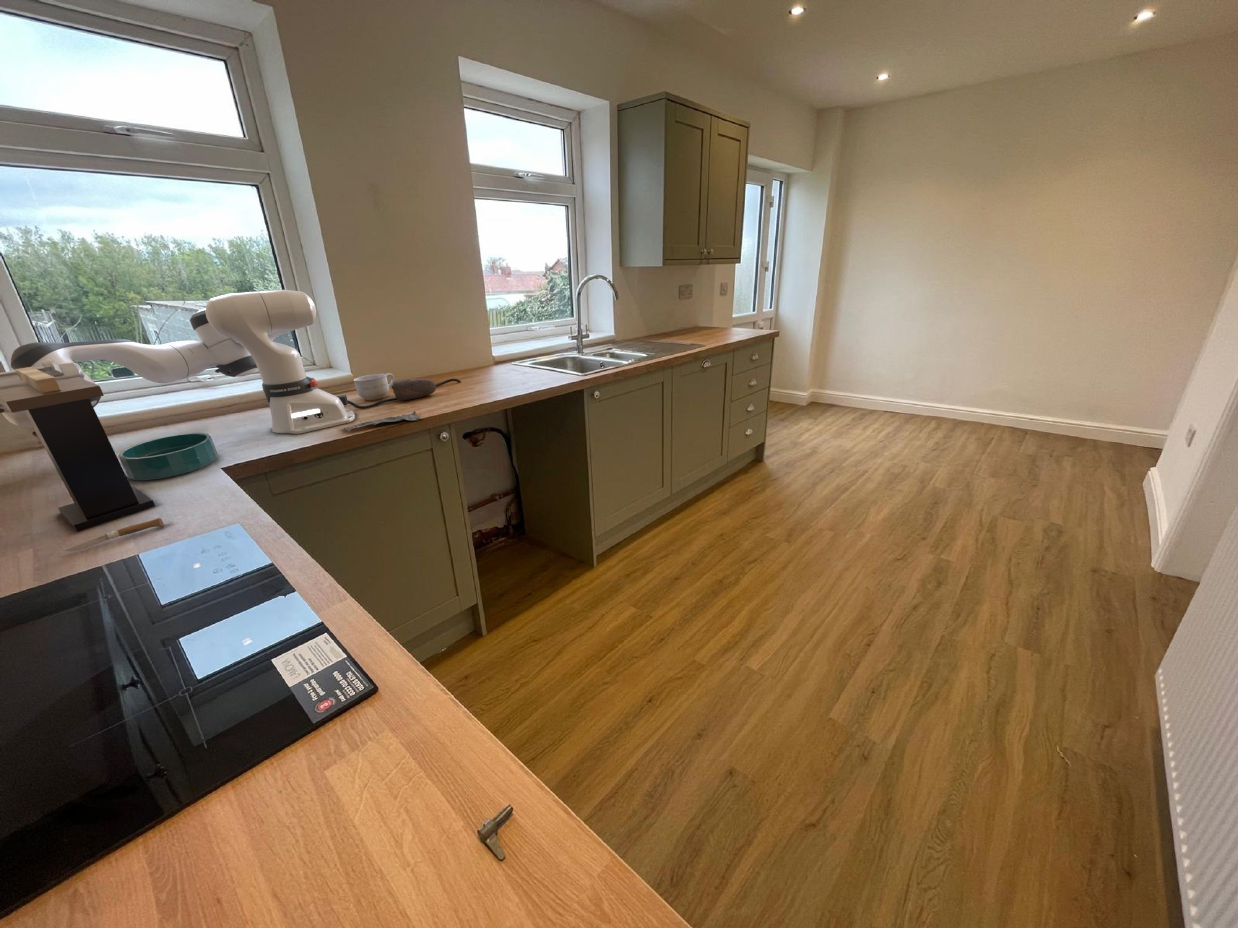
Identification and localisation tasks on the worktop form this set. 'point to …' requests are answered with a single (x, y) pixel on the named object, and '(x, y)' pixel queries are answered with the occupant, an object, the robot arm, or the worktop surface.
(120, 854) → the worktop surface
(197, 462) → the bowl
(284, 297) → the robot arm
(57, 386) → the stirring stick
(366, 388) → the teacup
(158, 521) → the folding knife
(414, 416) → the driftwood
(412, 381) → the grey rounded oblong body
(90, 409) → the black slanted stand
